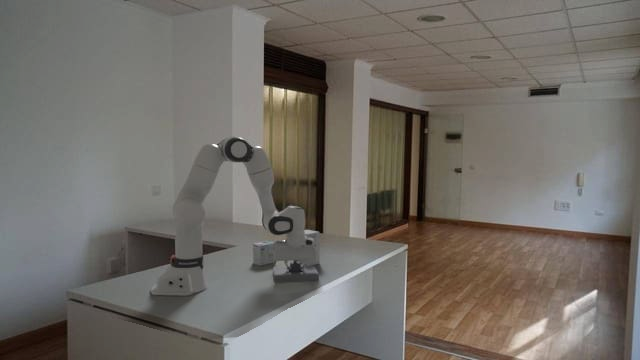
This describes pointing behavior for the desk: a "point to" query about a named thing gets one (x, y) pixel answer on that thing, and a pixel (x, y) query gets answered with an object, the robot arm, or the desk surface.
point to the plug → (295, 266)
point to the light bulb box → (263, 253)
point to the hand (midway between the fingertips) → (295, 269)
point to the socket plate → (295, 274)
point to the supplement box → (315, 236)
